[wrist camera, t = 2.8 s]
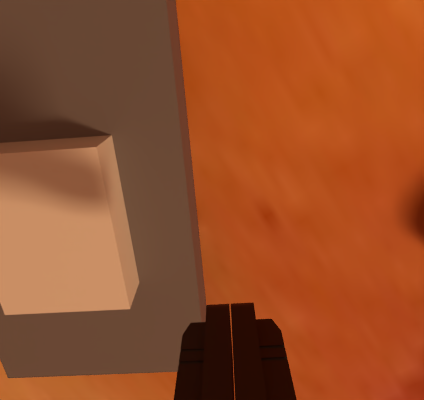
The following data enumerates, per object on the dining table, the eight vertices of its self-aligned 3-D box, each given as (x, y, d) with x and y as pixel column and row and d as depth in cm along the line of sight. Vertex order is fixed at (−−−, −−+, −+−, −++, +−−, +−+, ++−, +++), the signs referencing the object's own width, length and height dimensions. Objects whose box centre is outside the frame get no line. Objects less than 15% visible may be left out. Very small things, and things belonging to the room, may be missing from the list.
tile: (-23, 144, 18) (-56, 157, 16) (111, 135, 18) (96, 146, 16) (26, 288, 22) (4, 315, 19) (139, 282, 21) (129, 309, 19)
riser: (-85, -5, 19) (-157, -19, 15) (172, -29, 18) (161, -49, 15) (35, 335, 28) (8, 378, 25) (208, 327, 28) (206, 370, 24)
